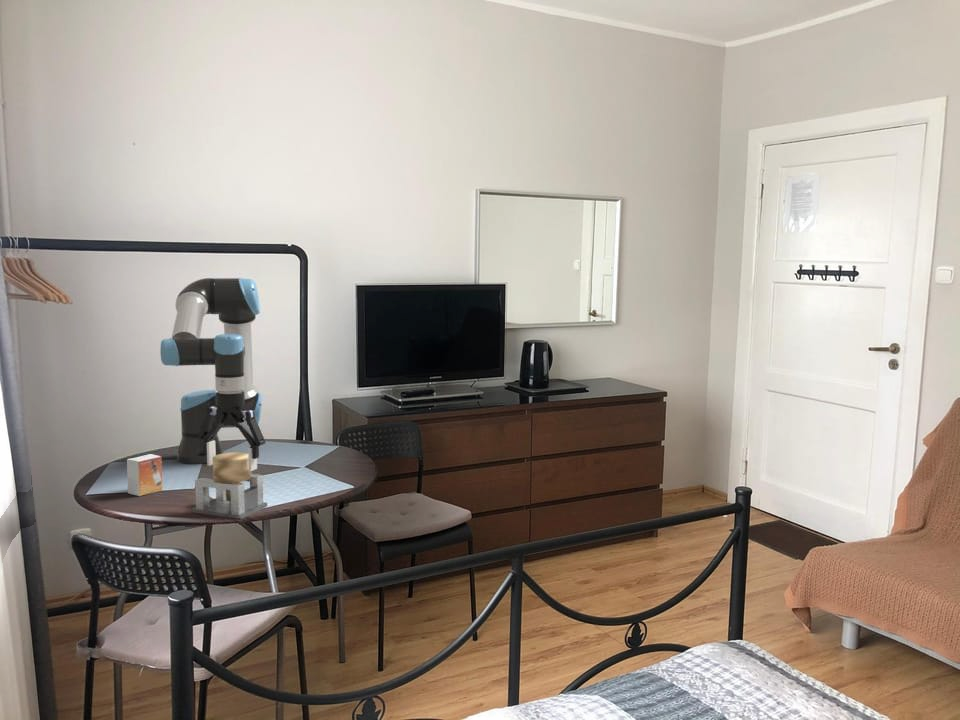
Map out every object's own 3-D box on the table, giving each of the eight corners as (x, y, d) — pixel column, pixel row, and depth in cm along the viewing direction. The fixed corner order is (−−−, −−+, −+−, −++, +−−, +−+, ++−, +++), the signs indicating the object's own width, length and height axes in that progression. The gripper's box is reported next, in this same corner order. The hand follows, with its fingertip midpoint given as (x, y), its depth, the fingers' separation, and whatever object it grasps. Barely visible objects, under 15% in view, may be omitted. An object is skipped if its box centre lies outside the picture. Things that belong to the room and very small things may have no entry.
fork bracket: (191, 512, 215) (190, 480, 214) (220, 499, 226) (219, 469, 225) (241, 519, 210) (240, 486, 209) (267, 506, 221) (266, 475, 220)
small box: (139, 497, 228) (137, 461, 226) (127, 493, 231) (126, 458, 229) (163, 490, 235) (162, 456, 233) (151, 487, 237) (150, 453, 236)
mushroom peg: (206, 502, 214) (204, 459, 213) (229, 492, 224) (228, 451, 222) (236, 506, 211) (235, 462, 209) (259, 496, 220) (258, 454, 219)
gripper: (183, 390, 214) (185, 465, 217) (260, 397, 206) (262, 475, 209) (201, 385, 221) (203, 458, 224) (277, 392, 213) (278, 468, 216)
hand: (232, 467), depth 216 cm, fingers open, 13 cm apart
